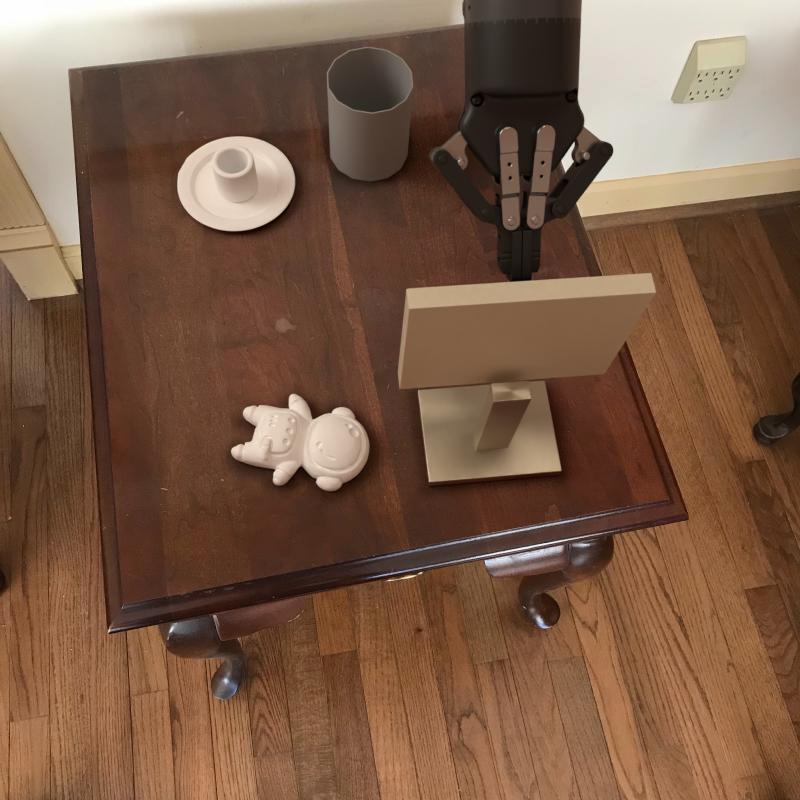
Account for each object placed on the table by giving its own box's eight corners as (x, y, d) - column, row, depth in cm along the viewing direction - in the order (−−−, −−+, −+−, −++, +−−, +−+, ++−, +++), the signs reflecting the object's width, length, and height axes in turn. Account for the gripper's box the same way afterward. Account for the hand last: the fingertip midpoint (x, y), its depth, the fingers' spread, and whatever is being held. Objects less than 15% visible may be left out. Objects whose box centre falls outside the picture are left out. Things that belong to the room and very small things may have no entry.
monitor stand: (416, 394, 78) (427, 333, 67) (542, 385, 79) (572, 323, 68) (428, 486, 74) (440, 437, 63) (559, 475, 76) (594, 425, 64)
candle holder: (159, 168, 87) (150, 139, 83) (262, 125, 90) (258, 96, 86) (209, 253, 83) (202, 227, 79) (316, 205, 86) (314, 178, 82)
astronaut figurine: (255, 386, 78) (252, 372, 75) (379, 420, 77) (380, 407, 74) (223, 472, 74) (217, 460, 71) (352, 508, 73) (352, 498, 71)
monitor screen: (397, 370, 68) (406, 286, 56) (600, 355, 69) (651, 270, 57) (399, 389, 67) (408, 308, 55) (604, 374, 69) (656, 292, 57)
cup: (389, 191, 87) (393, 124, 78) (317, 166, 88) (312, 96, 79) (418, 133, 91) (425, 62, 81) (348, 109, 91) (347, 36, 82)
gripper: (428, 16, 50) (435, 298, 56) (642, 8, 51) (625, 286, 57) (413, 23, 57) (421, 273, 63) (602, 16, 58) (591, 263, 64)
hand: (518, 279), depth 60 cm, fingers closed
